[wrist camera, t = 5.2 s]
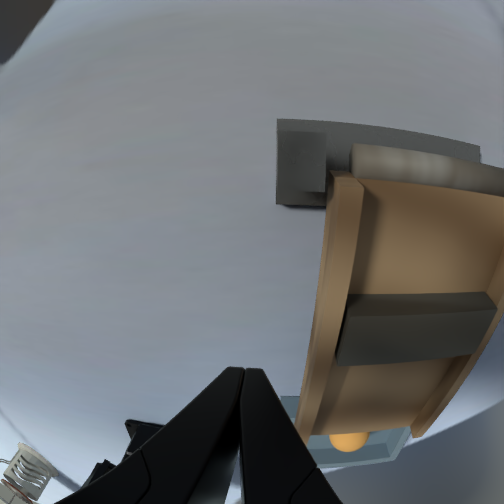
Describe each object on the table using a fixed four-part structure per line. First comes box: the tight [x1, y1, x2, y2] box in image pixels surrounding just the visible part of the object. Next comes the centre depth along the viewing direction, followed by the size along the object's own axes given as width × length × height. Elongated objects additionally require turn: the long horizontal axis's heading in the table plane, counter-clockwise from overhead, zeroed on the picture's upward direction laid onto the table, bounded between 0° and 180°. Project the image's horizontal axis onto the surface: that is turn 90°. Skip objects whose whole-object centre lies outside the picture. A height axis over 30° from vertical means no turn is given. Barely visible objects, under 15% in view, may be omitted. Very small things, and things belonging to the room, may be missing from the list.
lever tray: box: [294, 143, 504, 446], centre depth 14 cm, size 19×10×3 cm, turn 179°
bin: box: [280, 396, 411, 468], centre depth 22 cm, size 8×12×2 cm, turn 90°
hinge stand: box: [276, 119, 504, 206], centre depth 13 cm, size 5×14×8 cm, turn 90°
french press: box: [0, 442, 59, 504], centre depth 22 cm, size 10×12×25 cm
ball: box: [329, 432, 370, 452], centre depth 21 cm, size 4×4×4 cm
